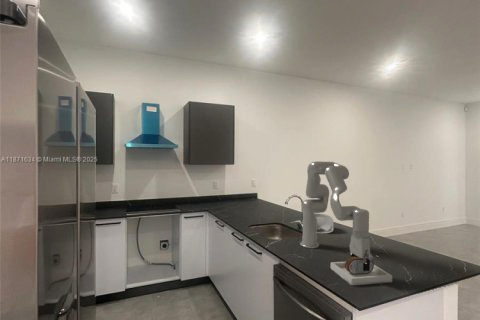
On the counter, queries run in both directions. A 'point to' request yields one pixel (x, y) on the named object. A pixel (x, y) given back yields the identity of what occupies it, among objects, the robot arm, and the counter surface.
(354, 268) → the tin
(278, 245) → the counter surface
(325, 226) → the bowl
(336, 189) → the robot arm
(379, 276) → the white tray
